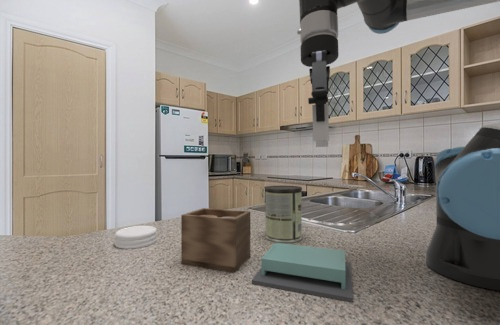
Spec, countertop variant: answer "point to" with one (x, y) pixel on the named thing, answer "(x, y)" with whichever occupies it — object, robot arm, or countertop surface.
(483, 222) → the robot arm
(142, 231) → the coaster
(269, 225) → the coffee can
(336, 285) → the mat
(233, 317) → the countertop surface
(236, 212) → the box
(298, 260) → the lid
